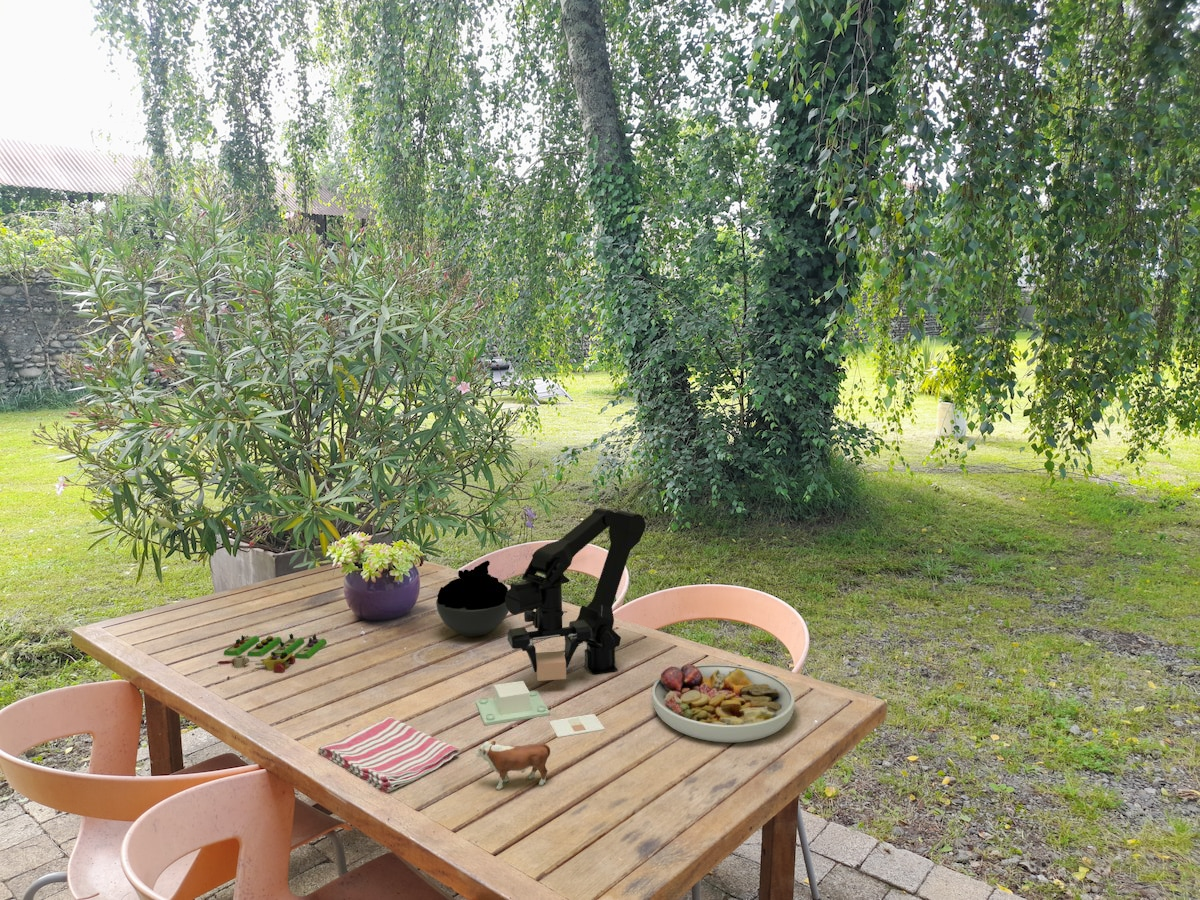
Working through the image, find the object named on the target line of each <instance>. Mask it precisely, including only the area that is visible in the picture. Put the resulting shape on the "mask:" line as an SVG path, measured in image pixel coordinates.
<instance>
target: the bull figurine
mask: <svg viewBox="0 0 1200 900" xmlns="http://www.w3.org/2000/svg"><path fill="white" fill-rule="evenodd" d="M475 754H476V757H478V758H480V757H481V758H483V760H484V761H486V762H488V764H489V766H490V768H491V769H492V770H493V771H494V772H495V773H497V774H499V776H498V780H499V781H498V783H497V786H496V787H495V790H496V791H500V790H501V789H503V788H504V785H503V783H507V782H508V781H510V776H509V772H521V773H525V772H526V770H527V769H529V768H531V767H532V769H531V771H530V773H529V774H528V775H527V776H526V778H525V779H526V780H531V779H532V778H535V775H536V773H537V771H538V772H539V774H540V780H539V781H538V787H542V786H544V783H545V784H546V778H547V774H548V769H547V767H546V763H547V760H548V759H549V757H550V755H551V747H550V746H549V745H548V744H546V743H537V744H535V743H534V744H530V743H529V744H526V745H525V744H524V745H502V744H498V743H496V741H495V740H492V741H491V742H490V741H487V740H486V741H485V742H484V743H482V744H481V746H480V747H479V749H477V751H476V752H475Z"/></svg>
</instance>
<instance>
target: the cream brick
mask: <svg viewBox="0 0 1200 900" xmlns="http://www.w3.org/2000/svg"><path fill="white" fill-rule="evenodd" d="M529 691H530V690H529V689H528V687H527V686H526V684H525V681H524V680H519V681H512V682H506V683H504V682H503V683H498V684H494V685H493V692H494V697H493V698H494V700H495V704H496V706H497V709H498V711H499V713H500V715H506V714H512V713H518V712H525V711H530V692H529Z"/></svg>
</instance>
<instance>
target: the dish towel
mask: <svg viewBox="0 0 1200 900" xmlns="http://www.w3.org/2000/svg"><path fill="white" fill-rule="evenodd" d="M317 752H318V753H319V755H321V756H322V757H323V758H326V759H329V760H330V761H332V762H334V763H335V764H337V765H339V767H340V766H341V768H345V769H347V771H349V772H351V773H352V774H354V775H356V776H358V777H359V778H361V779H364V780H365V781H364V782H366V783H367V784H368V785H369V786H372V787H374V788H375V789H377V790H378V789H379V790H381V791H382V792H383V793H384V794H386V793H390V792H392V791H395V790H396V789H398V788H401V787H402V786H406V785H408V784H411V783H412V782H415V781H417V780H418V779H420V778H422V777H424V776H426V775H428V774H429V773H431V772H433V771H435V770H437V769H439V768H440V767H441V766H442V765H444V764H445V763H447V762H449V761H450V760H452V759H454V758H457V757H458V756H459V753H460V748H457V747H455V746H453V745H452V744H449V743H448V742H444V741H441V740H438V739H436V738H434V737H432V735H429V734H427V733H426V732H423V731H419V730H417V729H416V728H414V727H412V726H410V725H408V724H406V723H404V722H402V721H400V720H398V719H395V718H394V717H393V716H392V715H390V716H387V717H385V718H383V719H382V720H380V721H378V722H375V723H372V724H370V725H368V726H366V727H364V728H363V729H360V730H356V731H355V732H353V733H351V734H349V735H347V736H345V737H343V738H340V739H339V740H336V741H334V742H330V743H326V744H324V745H321V746H320V747H319V748H318V749H317Z"/></svg>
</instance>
